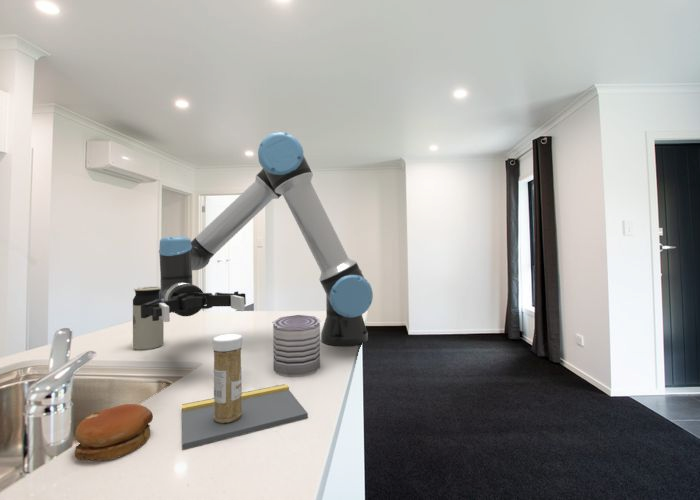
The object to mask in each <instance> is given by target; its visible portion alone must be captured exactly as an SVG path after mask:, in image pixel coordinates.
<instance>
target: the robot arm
mask: <svg viewBox="0 0 700 500" xmlns="http://www.w3.org/2000/svg"><path fill="white" fill-rule="evenodd" d="M257 150H258V151H257V155H258V162H259V165H260V166H261V168H262V169H261V170H260V171H259V172H258V173H257V174H256V175H255V180H254V181H253V183H251V185H249V186H248V188H246V189H245V190H244V191H243V192H242V193H241V194H240V195H238V197H237V198H236V199H234V201H232V202H231V203H230V204H229V205H228V206H227V207H226V208H225V209H224V210H222V212H221V213H220V214H219V215H218V216H216V218H215V219H213V220H212V222H210V223H209V224H208V225H207V226H206V227H205V228H203V230H202V231H200V232H199V233H198V235H197V236H195V237H194V238H193V239H192V240H191V238H189V237H187V236H166V237H162V238H161V239H160V240H159V250H158V255H159V267H160V268H159V270H160V271H159V272H160V287H161V289H160V292H159V298H157V299H155V300H154V301H151V302H148V303H145V304H143V305H141V318H147V317H149V316H152V321H158V320H159V316H160V318H161V319H162V320H163V321H164V323H168V322H171V320H170V319H171V317H170V314H171V313H173V314H174V313H175V314H176V315H178V316H180V317H191V316H194V315H196V314H198V313H199V312H200V311H201V310H202V309H203V310H205V309H206V310H208V309H212V308H213V307H230V308H231V309H234V310H237V311H240V312H245V310H246V304H247V303H246V302H247V301H246V300H247V299H246V293H243V292H242V293H239V291H234V292H231V293H226V292H214V294H213V293H212V292H204V291H203V290H202V289H201V288H200V287H199V286H198V285H195V284H193V271H199V270H202V269H203V268H205V267H207V266H208V265H209V262H210V261H211V259H212V258H213V256H214V255H216V254H217V253H218V252H219V251H220V250H221V249H222V248H223V247H225V245H226V244H227V243H228V242H229V241H230V240H232V238H233V237H235V236H236V234H238V232H240V231H241V230H242V229H243V228H244V227H245V226H246V225H247V224H248V223H249V222H251V220H252V219H254V218H255V216H256V215H258V214H259V213H260V212H261V211H262V210H263V209H264V208H265V207H266V206H268V204H269V203H270V202H271V201H273V200H274V199H275V200H277V199H280V198H281V197H283V199H284V200H285V203H286V204H287V207H288V208H289V211H290V213H291V214H292V217H293V218H294V221H295V222H296V225H297V226H298V228H299V230H300V232H301V235H302V236H303V239H304V241H305V242H306V244H307V246H308V249H309V250H310V253H311V254H312V257H313V258H314V260H315V262H316V264H317V266H318V269H319V270H320V272H321V273H320V275H319V282H320V284H321V286H322V289H323V290H324V292H325V294H326V295H325V297H326V306H325V307H326V317H325V320H324V323H323V327H322V329H321V332H320V340H321V341H320V342H322V343H324V344H326V345H330V346H331V345H332V346H340V347H342V346H346V347H347V346H356V345H361V344H364V343H366V342H368V340H369V337H368V335H369V333H368V330H367V327H366V323H365V321H364V318H363V315H364V314H365V313H366V312H367V311H368V310H369V308H370V307H371V305H372V302H373V299H374V298H373V297H374V295H373V294H374V293H373V290H372V289H373V288H372V285H371V284H370V283H369V282H368V279H366V278H365V276H364V275H363V273H362V269H360V267H359V264H358V262H357V260H356V261H355V260H353V259H351V258H349V255H348V254H347V252H346V251H345V248H344V246H343V245H342V242H341V240H340V238H339V236H338V234H337V233H336V230H335V228H334V226H333V224H332V222H331V220H330V218H329V216H328V214H327V212H326V210H325V208H324V206H323V204H322V202H321V200H320V198H319V196H318V194H317V192H316V190H315V187H314V185H313V184H312V179H313V175H314V174H313V172H312V170H311V168H310V166H309V163H308V161H307V160H306V158H305V155H304V149H303V146H302V144H301V143H300V141H299V140H298V139H297V138H296V137H295V136H294V135H293V134H290V133H288V132H283V131H279V132H272V133H270V134H267V136H265V137H264V138H263V139H262V141H261V142H260V144H259V146H258V149H257Z"/></svg>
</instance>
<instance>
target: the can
mask: <svg viewBox="0 0 700 500" xmlns="http://www.w3.org/2000/svg"><path fill="white" fill-rule="evenodd" d="M321 322H322V320H321V319H319V318H317V317H316V316H314V315H304V314H303V315H302V314H296V315H295V314H294V315H287V316H280V317H279V318H277V319H275V320H274V321H272V322H271V323H272V325H273V326H272V328H273V329H272V330H273V335H272V336H273V337H272V338H273V344H272V345H273V371H274V372H275V374H276V375H278V376H282V377H285V378H296V377H297V378H299V377H307V376H309V375H313V374H316V373H317V372H318V371H319V369H320V368H321V341H320V340H321V332H320V331H321Z"/></svg>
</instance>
